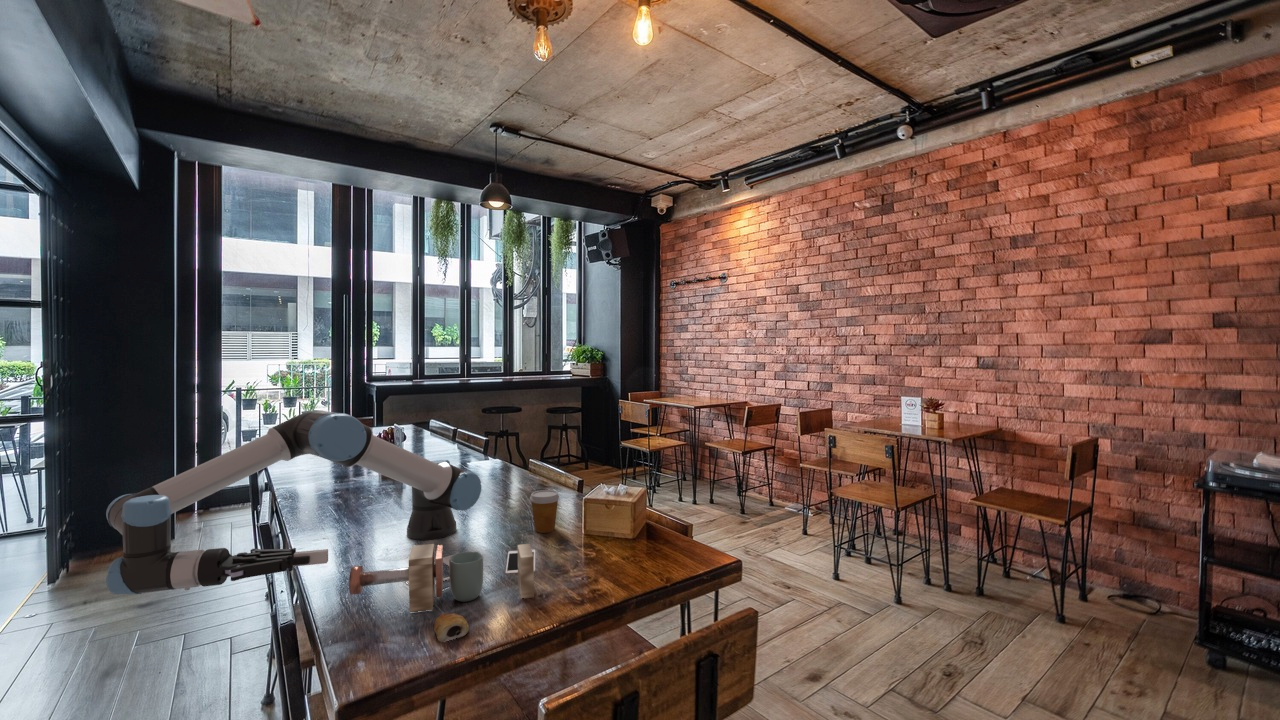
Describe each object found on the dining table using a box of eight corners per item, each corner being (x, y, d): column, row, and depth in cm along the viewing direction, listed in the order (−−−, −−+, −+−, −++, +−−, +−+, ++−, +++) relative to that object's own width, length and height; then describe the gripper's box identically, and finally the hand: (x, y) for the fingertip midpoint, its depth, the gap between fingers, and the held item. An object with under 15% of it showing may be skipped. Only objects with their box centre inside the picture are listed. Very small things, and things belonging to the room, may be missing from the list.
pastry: (428, 626, 124) (428, 609, 124) (460, 618, 127) (459, 601, 127) (439, 646, 116) (438, 627, 116) (472, 636, 120) (471, 618, 119)
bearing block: (409, 614, 129) (408, 559, 129) (413, 596, 138) (412, 545, 137) (432, 610, 130) (432, 557, 130) (434, 593, 139) (434, 543, 139)
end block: (521, 598, 136) (520, 557, 136) (518, 583, 145) (517, 544, 145) (534, 597, 137) (533, 556, 137) (529, 582, 146) (529, 543, 146)
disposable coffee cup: (562, 525, 191) (562, 490, 190) (555, 535, 181) (555, 497, 181) (534, 524, 192) (534, 489, 191) (526, 534, 182) (526, 497, 182)
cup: (452, 608, 132) (452, 565, 131) (447, 595, 139) (446, 554, 138) (486, 601, 135) (486, 559, 135) (479, 588, 142) (479, 549, 142)
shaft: (348, 609, 125) (347, 568, 125) (355, 591, 134) (354, 554, 134) (441, 596, 131) (441, 558, 131) (443, 581, 140) (442, 544, 139)
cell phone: (535, 551, 168) (535, 549, 168) (535, 573, 153) (535, 570, 153) (508, 553, 167) (508, 551, 167) (505, 575, 151) (505, 573, 151)
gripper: (216, 573, 127) (334, 562, 134) (189, 598, 114) (320, 584, 121) (215, 540, 127) (333, 530, 134) (188, 561, 114) (320, 549, 121)
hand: (327, 556), depth 128 cm, fingers closed
